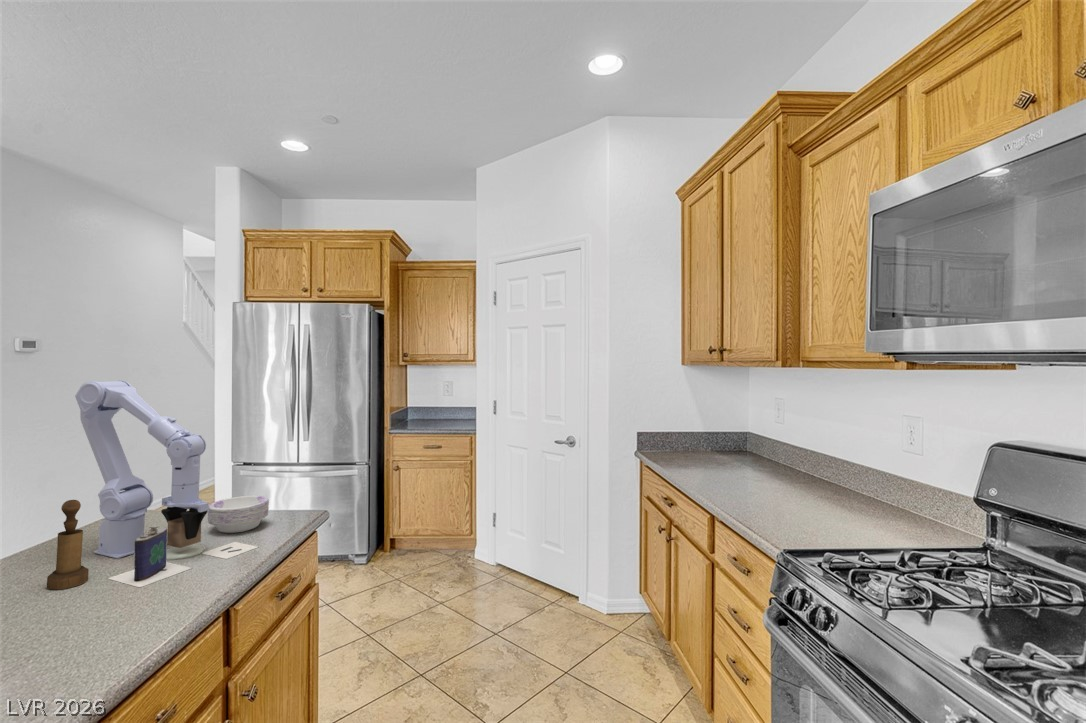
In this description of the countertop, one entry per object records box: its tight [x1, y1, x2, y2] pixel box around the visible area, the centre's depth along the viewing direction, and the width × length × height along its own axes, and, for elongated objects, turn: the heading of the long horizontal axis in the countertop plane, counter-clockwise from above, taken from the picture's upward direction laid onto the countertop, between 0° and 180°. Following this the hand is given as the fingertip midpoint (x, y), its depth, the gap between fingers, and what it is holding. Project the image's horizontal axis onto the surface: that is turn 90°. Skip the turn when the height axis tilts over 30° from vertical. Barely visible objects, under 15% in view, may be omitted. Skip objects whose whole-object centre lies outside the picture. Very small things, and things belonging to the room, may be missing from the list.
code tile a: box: [107, 561, 193, 588], centre depth 111 cm, size 11×11×1 cm
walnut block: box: [166, 518, 202, 548], centre depth 124 cm, size 5×5×6 cm
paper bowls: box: [207, 495, 270, 534], centre depth 144 cm, size 15×15×8 cm
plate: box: [166, 543, 206, 561], centre depth 124 cm, size 9×9×1 cm
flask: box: [133, 525, 168, 582], centre depth 112 cm, size 9×3×11 cm, turn 8°
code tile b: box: [201, 541, 259, 560], centre depth 126 cm, size 9×9×1 cm
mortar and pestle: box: [46, 499, 89, 591], centre depth 106 cm, size 7×6×18 cm
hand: (183, 536), depth 124 cm, fingers closed on walnut block, 5 cm apart
